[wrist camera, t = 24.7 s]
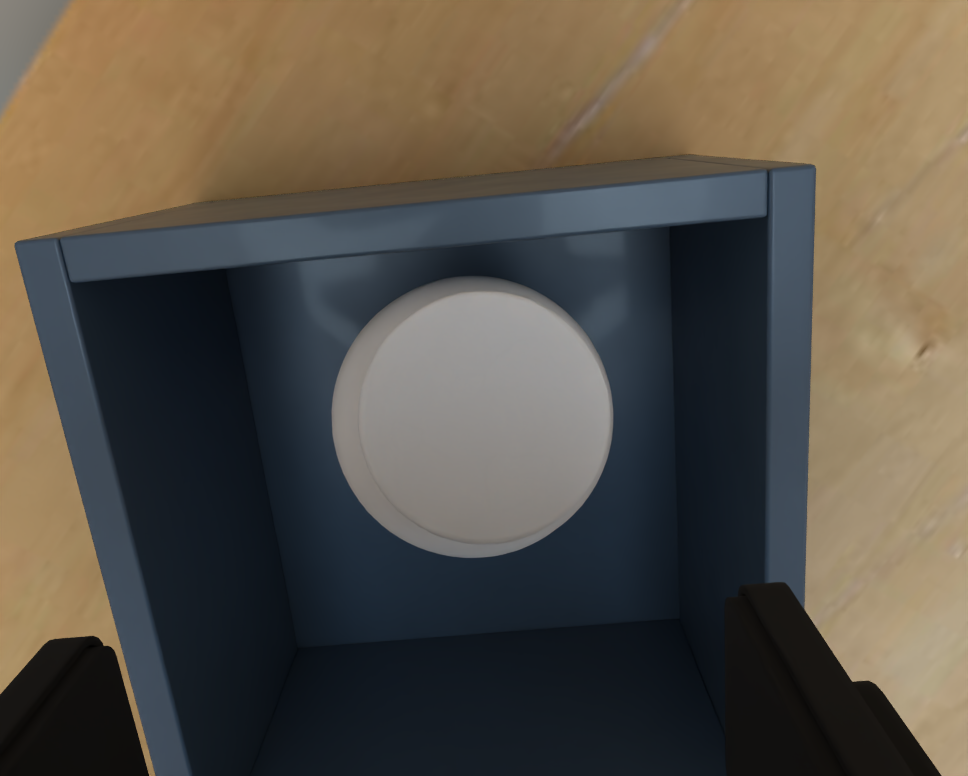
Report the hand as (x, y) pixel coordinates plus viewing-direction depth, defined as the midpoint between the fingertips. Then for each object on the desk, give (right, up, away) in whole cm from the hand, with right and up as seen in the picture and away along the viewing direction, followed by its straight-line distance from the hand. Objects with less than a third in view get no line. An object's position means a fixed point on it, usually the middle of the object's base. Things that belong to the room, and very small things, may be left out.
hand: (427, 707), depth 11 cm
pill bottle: (0, +3, +12) cm, 12 cm away
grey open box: (0, +3, +13) cm, 14 cm away
